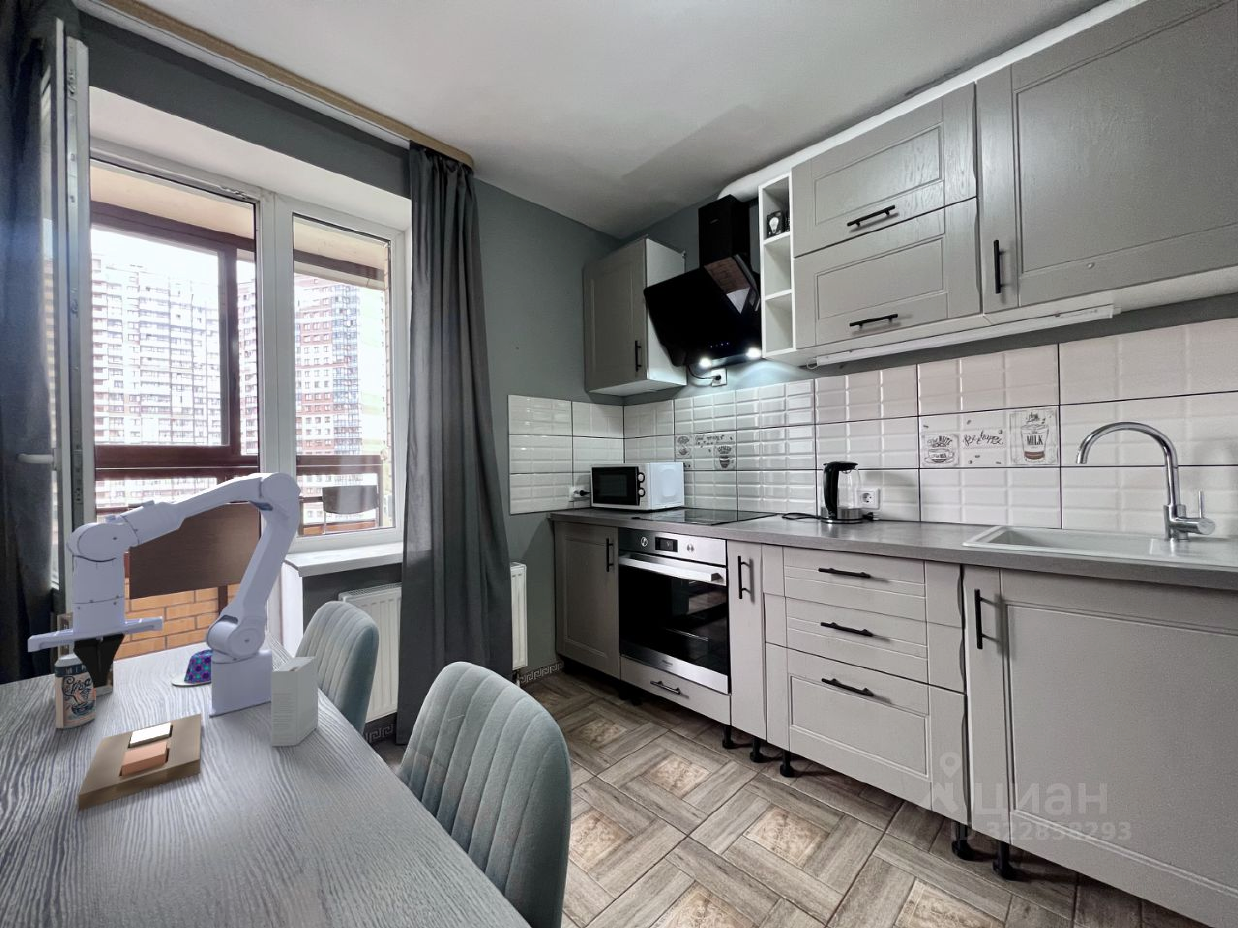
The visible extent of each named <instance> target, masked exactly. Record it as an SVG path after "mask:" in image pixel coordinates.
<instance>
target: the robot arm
mask: <svg viewBox="0 0 1238 928" xmlns="http://www.w3.org/2000/svg"><path fill="white" fill-rule="evenodd" d="M301 493H302V489H301V487H300V486H299V484H298V483H297V481H296V480H295V478H294V477H293V476H291V475H290V474H288V473H287V472H279V471H277V472H272V473H271V472H269V473H265V472H264V473H263V472H255V473H251V474H249V475H247V476H241V477H235V478H233V479H230V480H227V481H224V482H222V483H219V484H217V485H215V486H211V487H210V488H206V489H205V490H202V491H200V492H197V493H194V494H192V495H190V496H187V497H185V498H182V499H179V500H177V501H174V502H171V501H168V500H164V499H158V500H155V501H154V500H153V499H147V500H144V501H142V502H141V503H140V504H141V506H139V507H136V508H134V509H130V510H127V511H125V512H122V513H119V514H114V513H111V514H108V515H107V514H106V515H105V516H104V519H105V520H104V521H105V522H89V523H85V524H84V525H81V526H79V527H77V528H76V529H74V531H73V532H71V534H70V535H69V537H68V541H66V542H65V546H66V550H67V551H68V552H69V553H70V554H71V555H72V556H73V562H72V567H73V571H72V574H71V575H72V579H71V580H72V581H71V582H72V590H71V591H72V592H71V593H72V612H73V628H72V629H67V630H62V631H58V630H57V631H53V632H47V633H43V634H37V635H32V636H30V637H29V638H28V639H27V652H28V653H30V652H31V653H33V652H38V651H40V650H43V649H48V648H56V647H58V646H62V645H68V644H74V649H73V652H74V653H75V655H76V656H77V657H78V658H79V659H80V660H81V662H82V663H83V664H84V666H85V667H86V669H87V671H88V673H89V675H90V677H91V680H92V683H93V688H98V687H103V686H106V685H107V683H108V677H109V672H110V669H111V665H112V662H113V663H114V660H115V657H116V655H117V652H118V650H119V648H120V647H121V644H122V643H123V641H124V639H125V638H126V636H127V635H133V634H140V633H145V632H151V631H152V632H158V631H162V630H163V628H164V616H162V615H160V616H153V617H144V618H142V617H141V618H134V619H133V618H132V619H126V576H125V575H126V574H125V573H126V572H125V571H126V569H125V566H124V565H125V564H124V560H125V559H124V557H125V554H126V553H127V551H128V550H129V549H130V547H132V548H134V547H137V546H140V545H143V544H144V543H147V542H149V541H153V540H154V539H157V538H160V537H162V536H164V535H167V534H169V533H171V532H174V531H177V530H179V528H180V527H181V525H182V524H183V522H184V520H185V519H186V518H189V517H193V516H196V515H199V514H201V513H203V512H206V511H209V510H211V509H214V508H217V507H220V506H223V505H226V504H228V503H231V502H235V501H242V502H243V501H246V502H248V503H249V504H250V505H252V506H253V507H255V508H256V509H257V510H258V511H259V512H260V514H261V515H262V517H263V518H264V520H265V521H266V524H265V527H264V530H263V532H262V533H261V536H260V539H259V541H258V543H257V545H256V546H255V547H256V548H255V550H254V552H253V554H252V556H251V559H250V561H249V563H248V565H247V567H246V569H245V572H244V574H243V576H242V579H241V580H240V583H239V585H238V588H237V590H236V592H235V595H234V596H233V597H234V598H233V599H232V601H231V602H230V603H228V605H226V606H225V607H224V608H223V609H222V610H221V612H220V614H219V616H218V618H217V619H216V620H215V621H214V622H212V623H211V624H210V625H209V627H208V628H207V630H206V632H205V636H204V641H205V644H206V646H207V647H208V648H209V649H213V654H212V657H211V680H210V681H211V682H210V685H211V698H210V699H209V700H208V717H214V716H219V715H223V714H226V713H230V712H234V711H238V710H242V709H245V708H250V707H253V706H258V705H261V704H264V703H270V702H271V672H272V671H273V670H274V667H273V666H274V665H273V663H274V662H273V652H272V649H271V648H270V649H262V650H261V648H262V646H263V644H264V643H265V639H266V632H265V631H266V625H267V622H268V614H267V611H266V605H267V602H268V600H269V597H270V595H271V592H272V590H273V588H274V586H275V584H276V581H277V578H278V576H279V574H280V571H281V569H282V567H283V564H284V562H285V559H286V556H287V555H288V552H289V550H290V547H291V545H292V543H293V540H294V538H295V535H296V533H297V532H298V528H299V526H300V523H301V520H302V516H301V509H300V508H301V507H300V498H299V497H300V494H301ZM101 639H103V640H102V641H101Z"/></svg>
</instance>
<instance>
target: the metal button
mask: <svg viewBox="0 0 1238 928" xmlns="http://www.w3.org/2000/svg"><path fill="white" fill-rule="evenodd" d="M170 737H171V723H167V724H163V725H159V726H155V727H151V728H147V729H143V730H139V731H136V732H133V735H132V738H131V742H130V748H133V747H136V746H140V745H144V744H147V743H151V742H155V741H158V740H162V739H166V738H170Z"/></svg>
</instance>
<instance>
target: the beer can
mask: <svg viewBox="0 0 1238 928" xmlns="http://www.w3.org/2000/svg"><path fill="white" fill-rule="evenodd" d="M54 689H55V690H54V695H55V697H54V706H55V714H54V715H55V728H57V729H63V730H65V729H73V728H77V727H80V726H82V725H86V724H88V723H89V722H91V721H92V720H94V718H96V717H97V699H96V698H97V696H96V688H93V683H92V680H91V677H90V675H89V673H88V671H87V669H86V667H85V666H84V664H83V663H82V662H81V660H80V659H79V658H78V657H77V656H76V655H75V653H71V654H68V655H64V656H62V657H60V658H58V657H57V660H56V662H55V663H54Z"/></svg>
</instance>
